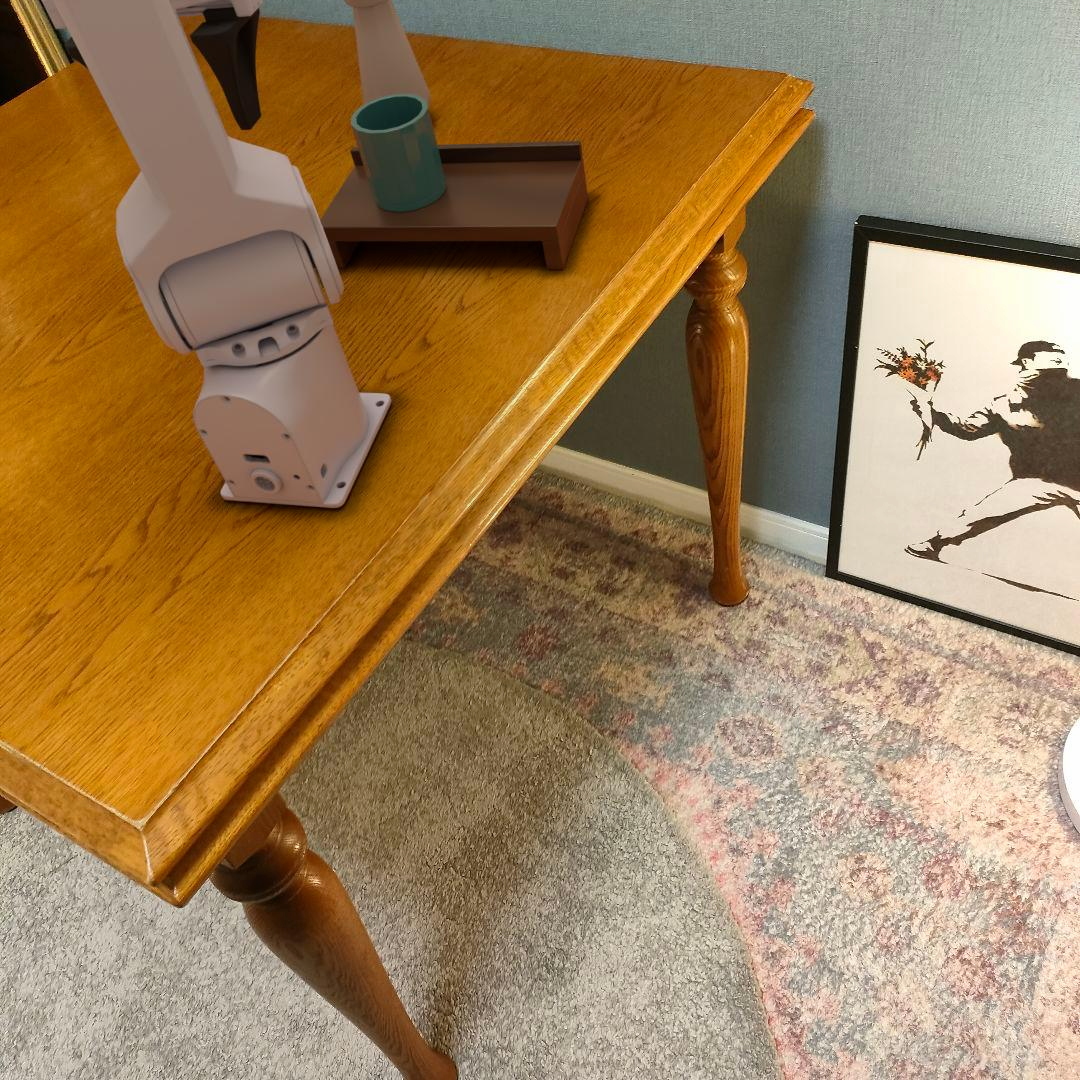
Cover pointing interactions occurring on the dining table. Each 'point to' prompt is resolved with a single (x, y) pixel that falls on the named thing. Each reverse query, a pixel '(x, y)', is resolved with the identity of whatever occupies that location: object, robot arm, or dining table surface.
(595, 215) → the dining table surface
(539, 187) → the shelf
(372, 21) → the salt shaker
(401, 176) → the cup
